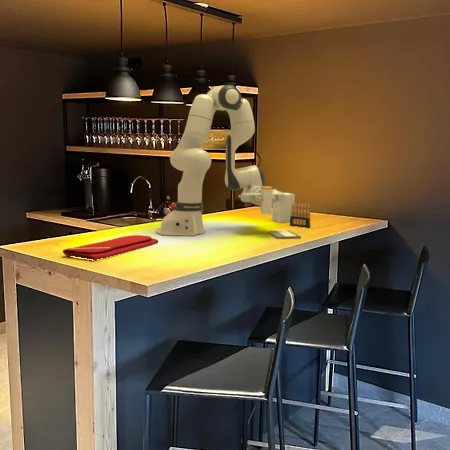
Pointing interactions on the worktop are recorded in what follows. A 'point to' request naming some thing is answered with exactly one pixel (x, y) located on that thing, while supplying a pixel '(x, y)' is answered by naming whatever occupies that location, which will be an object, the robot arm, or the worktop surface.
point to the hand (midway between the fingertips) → (267, 199)
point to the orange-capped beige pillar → (266, 200)
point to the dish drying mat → (110, 247)
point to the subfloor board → (283, 234)
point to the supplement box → (283, 209)
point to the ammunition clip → (300, 216)
